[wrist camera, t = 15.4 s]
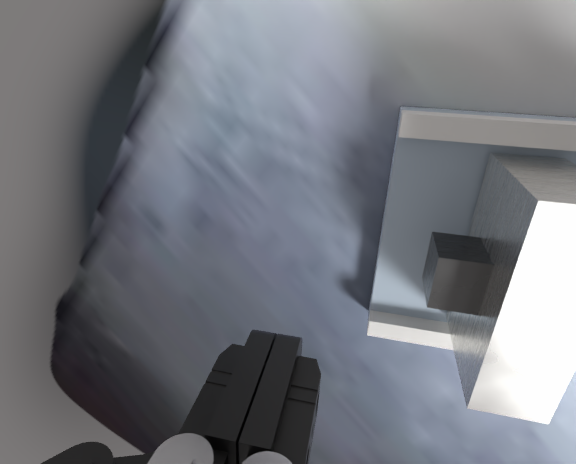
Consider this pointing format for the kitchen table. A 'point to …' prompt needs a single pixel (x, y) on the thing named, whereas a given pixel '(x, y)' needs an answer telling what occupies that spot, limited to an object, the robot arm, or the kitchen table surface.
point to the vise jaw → (512, 287)
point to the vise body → (442, 202)
